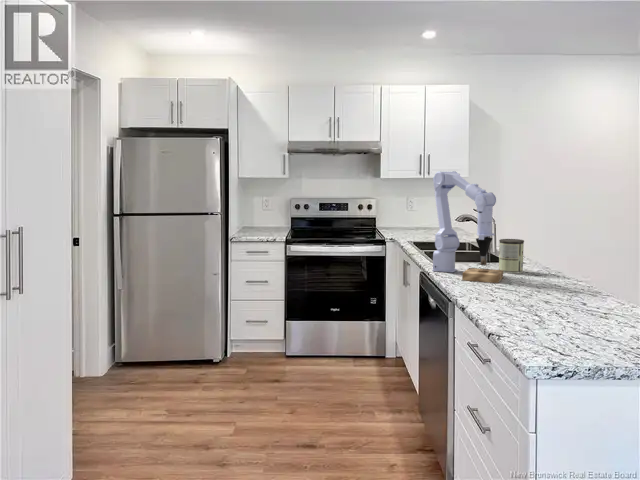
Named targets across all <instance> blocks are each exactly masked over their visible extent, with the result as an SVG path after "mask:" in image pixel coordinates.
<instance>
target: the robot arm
mask: <svg viewBox="0 0 640 480" xmlns="http://www.w3.org/2000/svg"><path fill="white" fill-rule="evenodd" d="M432 181H433V188H434V199H435V206H436V207H435V208H436V214H437V221H438V228H439V230H438V231H437V232H436V233H435V235H434V236H435V239H434V246H435V249H436V250H434V251H433V254H432V269H431V270H432V271H433V272H443V273H455V272H456V271H458V268H456V252H457V250H458V248H459V247H460V243H461V242H460V239H459V237H458V233H457V231H456V230H455V229H453V228H452V227H453V226H452V219H451V212H450V204H449V197H448V193H449V192H450V191H451V190H453V189H454V188H455V187H458V188H460V189H462V191H465V192H464V193H465V195H466V196H467V197H468V198H470V199H471V200H472V201H474V204H475V206H476V211H477V228H476V236H478V237H477V238H475V241H476V243H477V246H478V251H479V256H480V257H481V256H486V254H487V255H488V254H489V250H490V249H489V248H490V245H491V242H492V241H493V237H494V236H495V235H496V233H495V232H494V233H493V232H492V231H493V208H494V206H495V205H496V204H497V197H496V195H495V194H494V192H487V191H486V189H482V188H481V187H480V186H479V184H478V183H470V182H468V181H467V180H466V179H465V178H464V177H462V176H461V174H460V173H458V171H455V170H454V171H442V170H439V171H436V173H435V174H434V176H433V178H432ZM491 236H492V237H491Z"/></svg>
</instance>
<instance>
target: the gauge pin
mask: <svg viewBox="0 0 640 480" xmlns="http://www.w3.org/2000/svg"><path fill="white" fill-rule="evenodd" d="M487 257H488V254H486V256H480V265H481V266H486V265H487V262H488V258H487Z"/></svg>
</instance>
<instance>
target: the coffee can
mask: <svg viewBox="0 0 640 480" xmlns="http://www.w3.org/2000/svg"><path fill="white" fill-rule="evenodd" d="M524 243H525V240H524V239H518V238H500V239H499V244H498V245H499V252H498V256H499V257H498V270H503V274H511V275H513V274H514V275H515V274H522V273H524V245H525V244H524Z"/></svg>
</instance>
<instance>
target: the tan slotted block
mask: <svg viewBox="0 0 640 480" xmlns="http://www.w3.org/2000/svg"><path fill="white" fill-rule="evenodd" d="M503 278H504V273H503V270H499V269H491V268H477V267H475V268H474V267H468V268H467V269H466V270H464V271H463V272H462V278H461V280H462V281H466V282H467V281H469V282H481V283H494V284H499V282H501V280H502V279H503Z"/></svg>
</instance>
